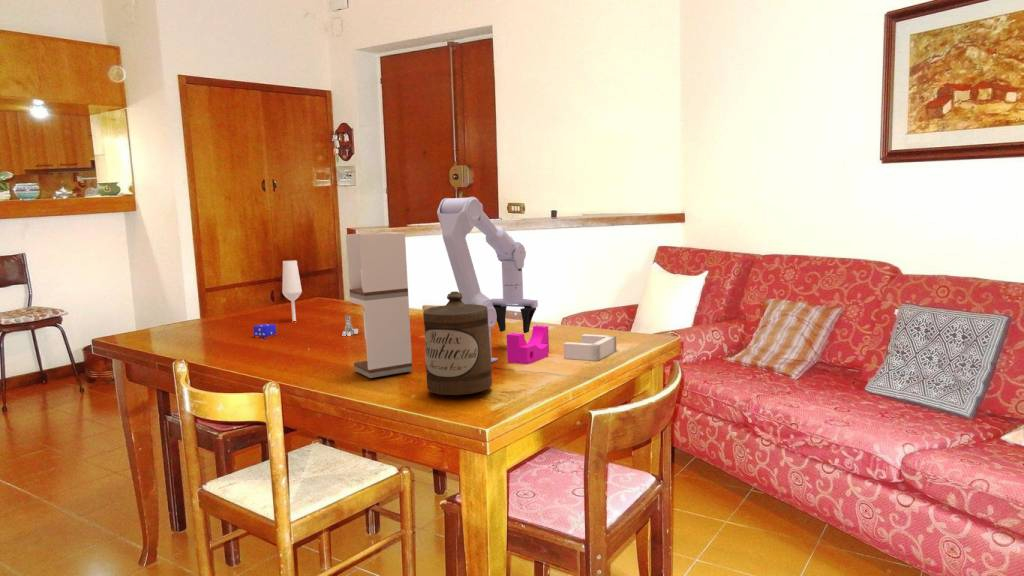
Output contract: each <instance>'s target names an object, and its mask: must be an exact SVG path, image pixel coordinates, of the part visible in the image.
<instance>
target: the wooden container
mask: <svg viewBox="0 0 1024 576" xmlns="http://www.w3.org/2000/svg"><path fill="white" fill-rule="evenodd" d="M446 299H447V300H448V302H447V303H446V304H445V305H439V306H438V305H437V306H433V307H428V308H425V309H423V311H422V312H423V313H422V314H423V316H422V317H423V325H424V348H425V349H424V351H425V352H424V355H425V357H424V358H425V371H426V389H427V390H428V391H429V392H430V393H433V394H437V395H443V396H462V395H464V396H465V395H470V394H471V395H472V394H478V393H481V392H484V391H487V390H488V389H490V388H491V387H492V385H493V380H492V379H493V376H492V363H491V356H492V351H491V352H490V340H489V327H488V310H487V307H486V306H483V305H475V304H464V303H463V302H462V301H461V299H462V294H461V293H459V291H457V290H456V291H450V293H448V294H447V296H446Z"/></svg>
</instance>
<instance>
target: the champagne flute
mask: <svg viewBox="0 0 1024 576" xmlns="http://www.w3.org/2000/svg"><path fill="white" fill-rule="evenodd" d="M300 278H301V277H300V273H299V266H298V260H295V259H293V260H283V261H282V285H281V286H282V288H281V289H282V290H281V293H282V294H283V296H284V297H285V298H286V299H287V300H289V301H290V302H291V305H290V306H291V316H292V317H291V319H292V322H293V321H296V322H297V317H296V302H295V301H296V300H297V299H299V297H300V296H301V294H303V290H302V285H301V284H302V283H301V279H300Z"/></svg>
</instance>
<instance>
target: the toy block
mask: <svg viewBox="0 0 1024 576" xmlns="http://www.w3.org/2000/svg"><path fill="white" fill-rule="evenodd" d="M549 335H550V334H549V326H548V325H540V324H538V325H536V324H535V325H533V326H532V332H531V335H530V338H529V340H528V342H527V341H526V338H525V333H519V332H510V333H508V334H506V353H507V354H506V355H507V362H508V363H515V364H524V365H529V364H532V363H534V362H537V361H540V360H542V359H544V358H547V357H549V352H550V341H549V339H550V336H549Z"/></svg>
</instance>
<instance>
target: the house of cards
mask: <svg viewBox="0 0 1024 576" xmlns="http://www.w3.org/2000/svg"><path fill="white" fill-rule="evenodd" d="M358 333H359V334H360V332H359V328H354V327H353V324H352V321H351V316H350V315H345V327H344V330H343V331H342V335H341V336H346V335H347V336H351V335H352V336H353V335H354V334H358ZM359 334H358V335H359ZM347 336H346V337H347ZM352 336H351V337H352Z"/></svg>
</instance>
